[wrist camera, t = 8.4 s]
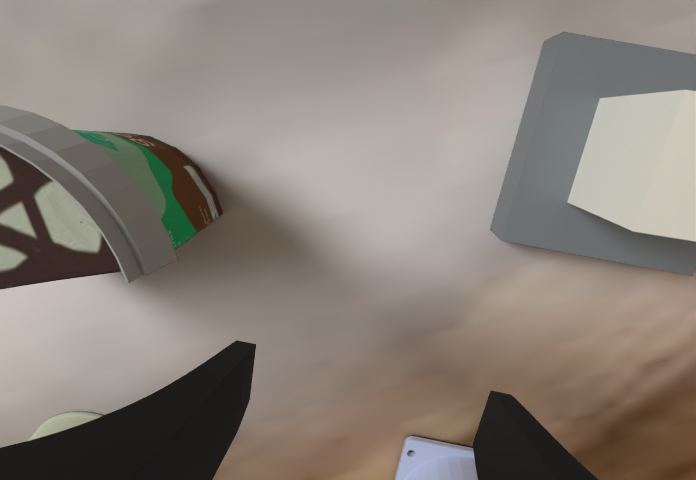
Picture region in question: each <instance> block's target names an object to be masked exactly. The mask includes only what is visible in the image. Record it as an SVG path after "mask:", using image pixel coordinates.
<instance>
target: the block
mask: <svg viewBox="0 0 696 480" xmlns="http://www.w3.org/2000/svg"><path fill="white" fill-rule="evenodd" d="M567 202H568V203H570V204H572V205H575V206H577V207H579V208H581V209H584V210H586V211H588V212H590V213H593V214H595V215H597V216H599V217H602V218H604V219H606V220H608V221H611V222H613V223H615V224H617V225H620V226H622V227H624V228H626V229H629V230H631V231H633V232H639V233H646V234H652V235H658V236H664V237H671V238H677V239H683V240H689V241H696V91H691V90H677V91H667V92H657V93H647V94H637V95H627V96H617V97H607V98H600V100H599V103H598V106H597V109H596V112H595V116H594V119H593V122H592V125H591V128H590V131H589V135H588V138H587V141H586V144H585V147H584V151H583V154H582V157H581V160H580V163H579V166H578V170H577V173H576V176H575V179H574V182H573V186H572V189H571V192H570V195H569V198H568V201H567Z"/></svg>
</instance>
